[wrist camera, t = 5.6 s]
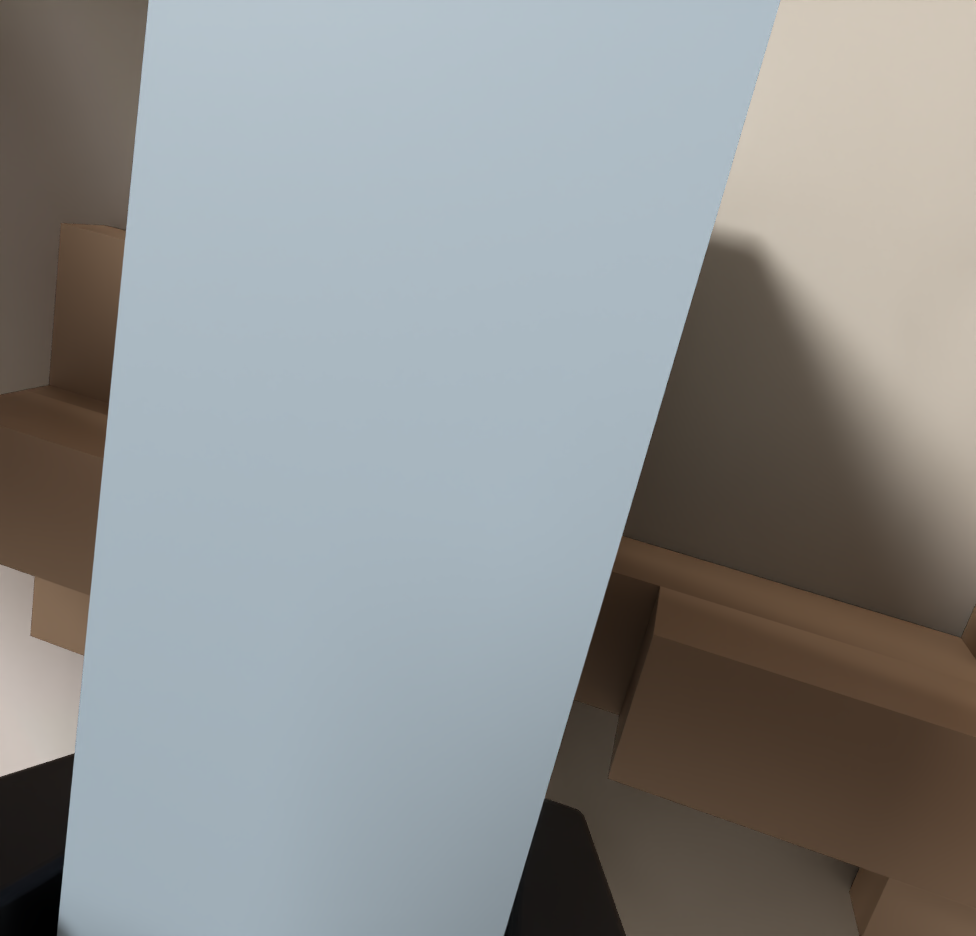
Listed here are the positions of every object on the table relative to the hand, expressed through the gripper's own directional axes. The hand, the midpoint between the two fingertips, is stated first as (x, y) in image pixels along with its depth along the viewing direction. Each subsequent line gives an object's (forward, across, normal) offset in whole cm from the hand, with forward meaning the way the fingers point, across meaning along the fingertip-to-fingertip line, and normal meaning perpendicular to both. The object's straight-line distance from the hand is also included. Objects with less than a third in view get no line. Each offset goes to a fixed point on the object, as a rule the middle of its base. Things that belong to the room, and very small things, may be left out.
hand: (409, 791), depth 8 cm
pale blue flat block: (+5, 0, 0) cm, 5 cm away
